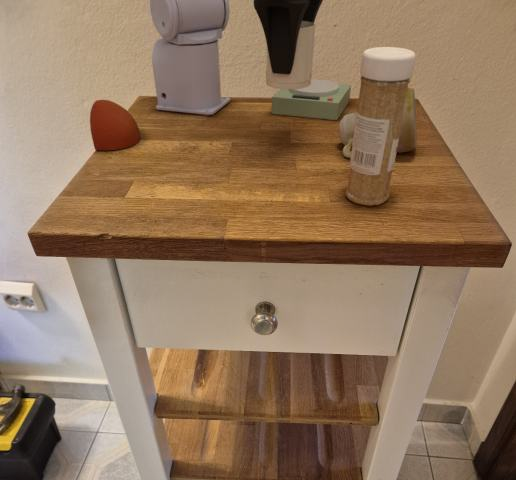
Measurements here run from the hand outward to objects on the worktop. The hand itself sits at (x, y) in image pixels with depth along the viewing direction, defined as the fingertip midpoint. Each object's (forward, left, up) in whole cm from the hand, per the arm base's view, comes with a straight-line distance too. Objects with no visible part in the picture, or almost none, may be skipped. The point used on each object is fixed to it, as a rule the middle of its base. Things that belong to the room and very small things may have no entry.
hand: (288, 67), depth 56 cm
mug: (+11, +1, -9) cm, 15 cm away
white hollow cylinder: (0, 0, -2) cm, 2 cm away
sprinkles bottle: (+12, -13, -9) cm, 20 cm away
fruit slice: (-20, -5, -5) cm, 21 cm away
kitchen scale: (-1, +16, -9) cm, 19 cm away
